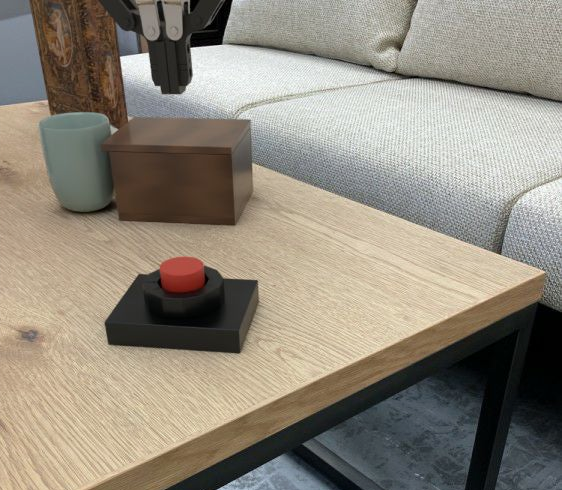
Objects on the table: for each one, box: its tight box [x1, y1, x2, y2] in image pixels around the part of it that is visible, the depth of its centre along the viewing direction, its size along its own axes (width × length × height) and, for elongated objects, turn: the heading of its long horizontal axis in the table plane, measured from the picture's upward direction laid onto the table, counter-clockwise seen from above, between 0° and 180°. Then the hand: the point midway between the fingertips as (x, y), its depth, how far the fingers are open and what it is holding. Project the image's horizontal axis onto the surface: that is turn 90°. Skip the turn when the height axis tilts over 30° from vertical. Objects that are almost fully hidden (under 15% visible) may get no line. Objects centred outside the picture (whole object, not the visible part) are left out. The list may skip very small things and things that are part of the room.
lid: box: [101, 116, 252, 155], centre depth 79 cm, size 14×12×1 cm
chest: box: [109, 126, 254, 226], centre depth 82 cm, size 14×12×8 cm
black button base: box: [104, 265, 260, 354], centre depth 59 cm, size 11×9×4 cm
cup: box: [37, 112, 115, 213], centre depth 81 cm, size 8×8×10 cm
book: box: [28, 0, 129, 129], centre depth 105 cm, size 16×6×25 cm, turn 42°
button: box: [159, 256, 205, 292], centre depth 58 cm, size 4×4×2 cm
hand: (173, 92), depth 53 cm, fingers closed
